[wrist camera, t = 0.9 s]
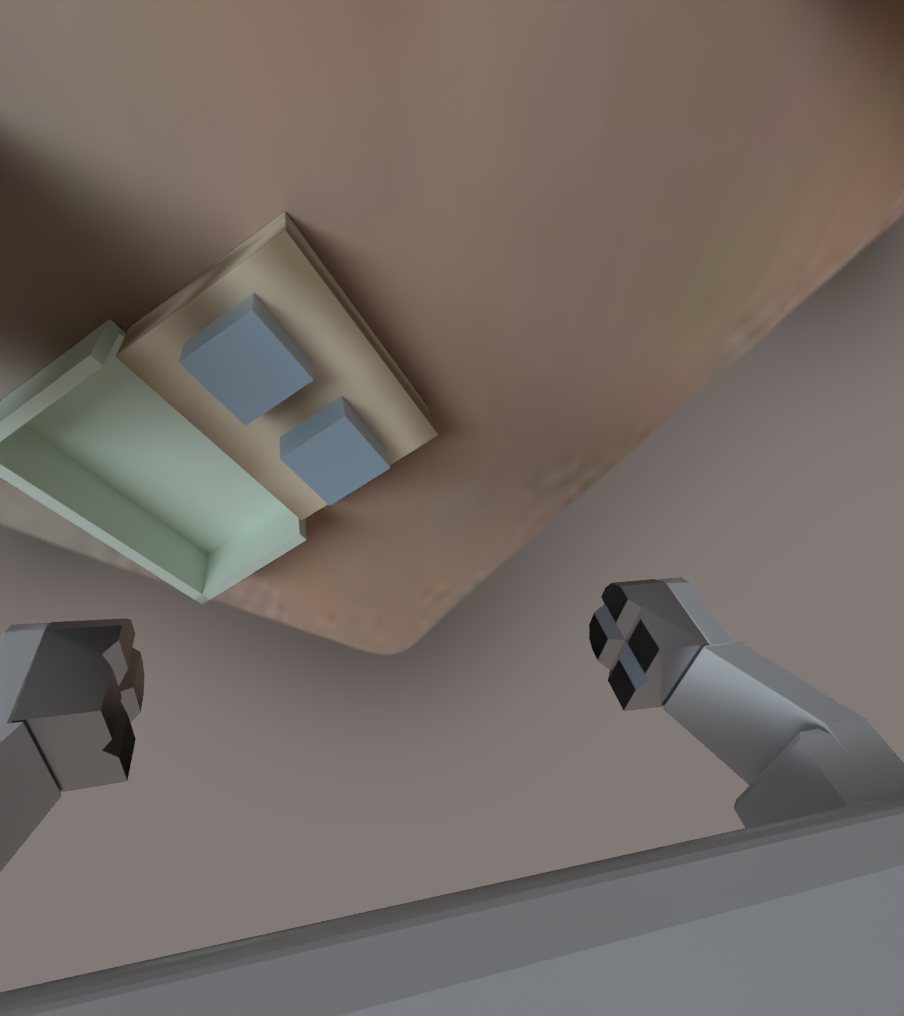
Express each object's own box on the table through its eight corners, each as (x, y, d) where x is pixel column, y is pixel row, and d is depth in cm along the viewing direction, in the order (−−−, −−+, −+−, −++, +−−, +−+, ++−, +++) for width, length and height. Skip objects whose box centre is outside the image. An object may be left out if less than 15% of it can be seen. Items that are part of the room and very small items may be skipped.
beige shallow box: (285, 211, 33) (285, 230, 30) (427, 406, 44) (438, 434, 41) (128, 327, 36) (115, 356, 33) (299, 487, 46) (301, 520, 43)
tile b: (341, 396, 37) (345, 415, 35) (385, 447, 40) (390, 468, 39) (279, 437, 38) (279, 458, 36) (327, 483, 41) (329, 506, 39)
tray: (109, 318, 35) (89, 354, 31) (304, 497, 47) (306, 539, 43) (-8, 407, 37) (-40, 451, 33) (207, 558, 48) (202, 604, 45)
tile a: (253, 292, 32) (252, 309, 30) (311, 360, 35) (313, 380, 33) (184, 342, 33) (178, 362, 31) (247, 404, 36) (245, 425, 34)
